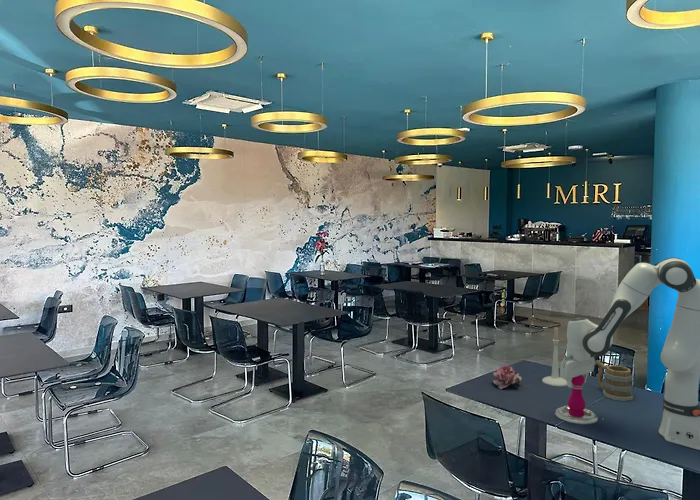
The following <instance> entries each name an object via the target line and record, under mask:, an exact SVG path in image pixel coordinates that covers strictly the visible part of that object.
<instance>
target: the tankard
mask: <svg viewBox="0 0 700 500" xmlns="http://www.w3.org/2000/svg"><path fill="white" fill-rule="evenodd" d="M594 366H598V372H597V376H596V381H597V382H596V383H597V384H598V386H599V387H600V388H602V395H603V396H604V397H605V398H608V399H610V400H612V401H620V402H629V401H633V400H634V396H633V393H632V391H633V385H632V381H633V375H632V371H631V369H630V367H629V368H628V367H625V366H623V365H616V364H615V365H605V364H604V363H602V361H600V359H599V360H598V359H597V360H595V363H594ZM604 370H605V371H604ZM603 375H604V376H605V380H604V383H603V379H602V377H603Z"/></svg>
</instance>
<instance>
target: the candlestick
mask: <svg viewBox="0 0 700 500" xmlns="http://www.w3.org/2000/svg"><path fill="white" fill-rule="evenodd" d="M558 337H559V328H558V327H557V326H556V327H554V328H553V339H552V343H553V353H552V367H551V375H548V376H545V377H543V378H542V379H541V382H542V383H543V384H545V385H549V386H553V387H566V386H567V381H566V379H564V378H561V377H560V369H559V347H558V345H559V342H560V340H559V338H558Z"/></svg>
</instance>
